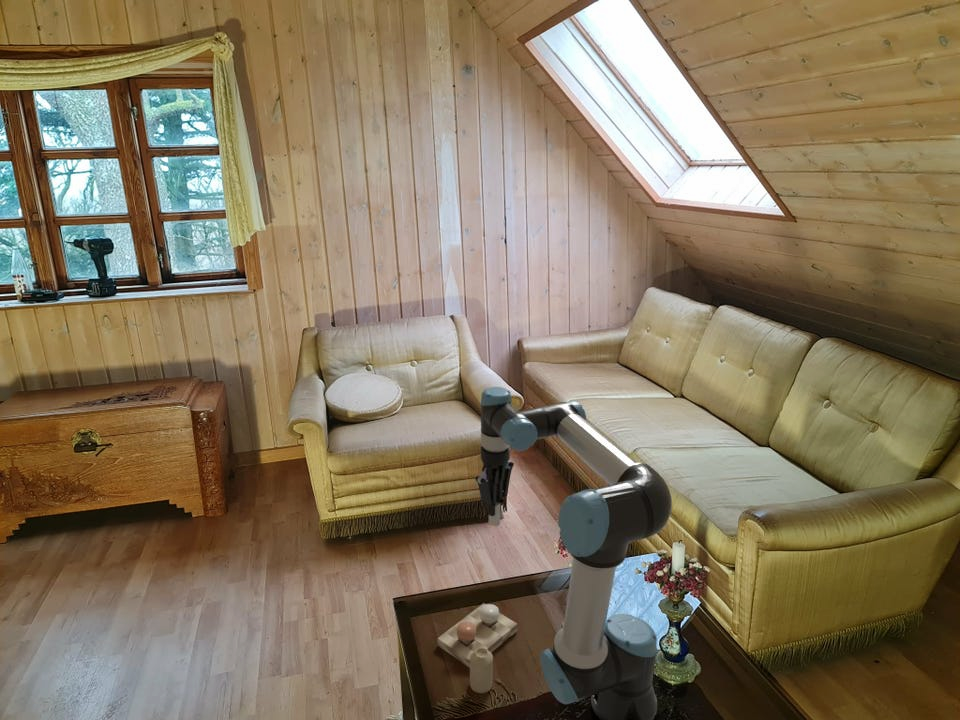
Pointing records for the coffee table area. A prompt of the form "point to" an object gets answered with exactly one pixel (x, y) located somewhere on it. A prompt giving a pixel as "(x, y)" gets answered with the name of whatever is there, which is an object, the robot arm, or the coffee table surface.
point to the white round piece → (489, 614)
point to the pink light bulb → (466, 632)
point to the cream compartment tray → (477, 636)
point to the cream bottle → (481, 670)
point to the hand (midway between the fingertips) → (494, 523)
